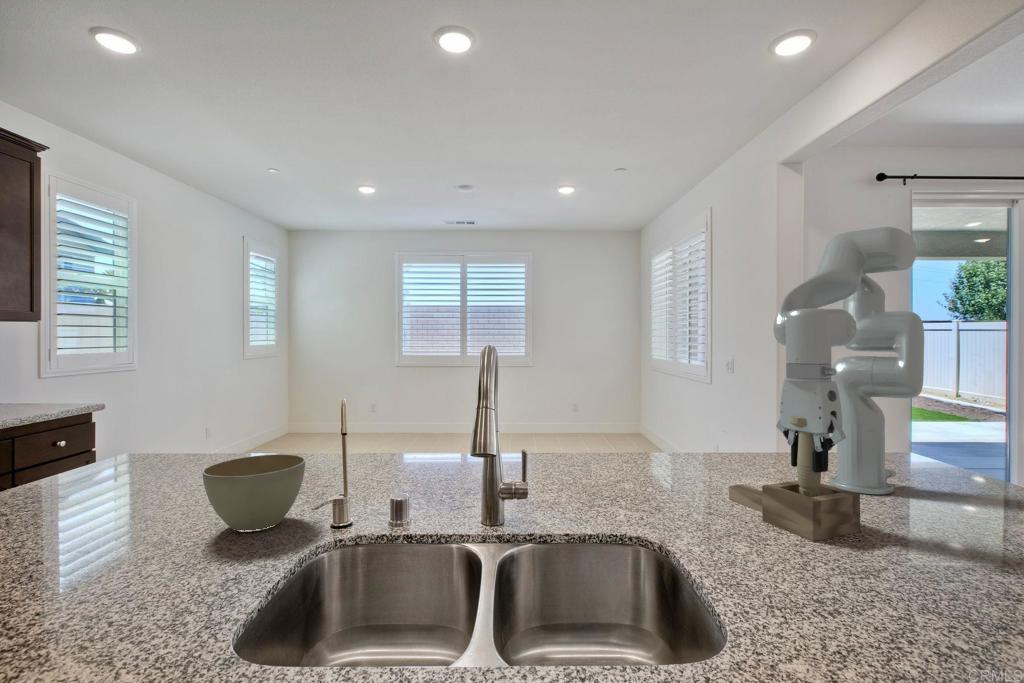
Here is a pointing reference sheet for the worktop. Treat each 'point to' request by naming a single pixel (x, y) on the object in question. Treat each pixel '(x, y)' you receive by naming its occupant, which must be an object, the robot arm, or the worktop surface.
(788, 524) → the wooden box scoop
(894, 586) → the worktop surface
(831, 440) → the robot arm
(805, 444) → the handle
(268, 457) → the olive grey bowl
